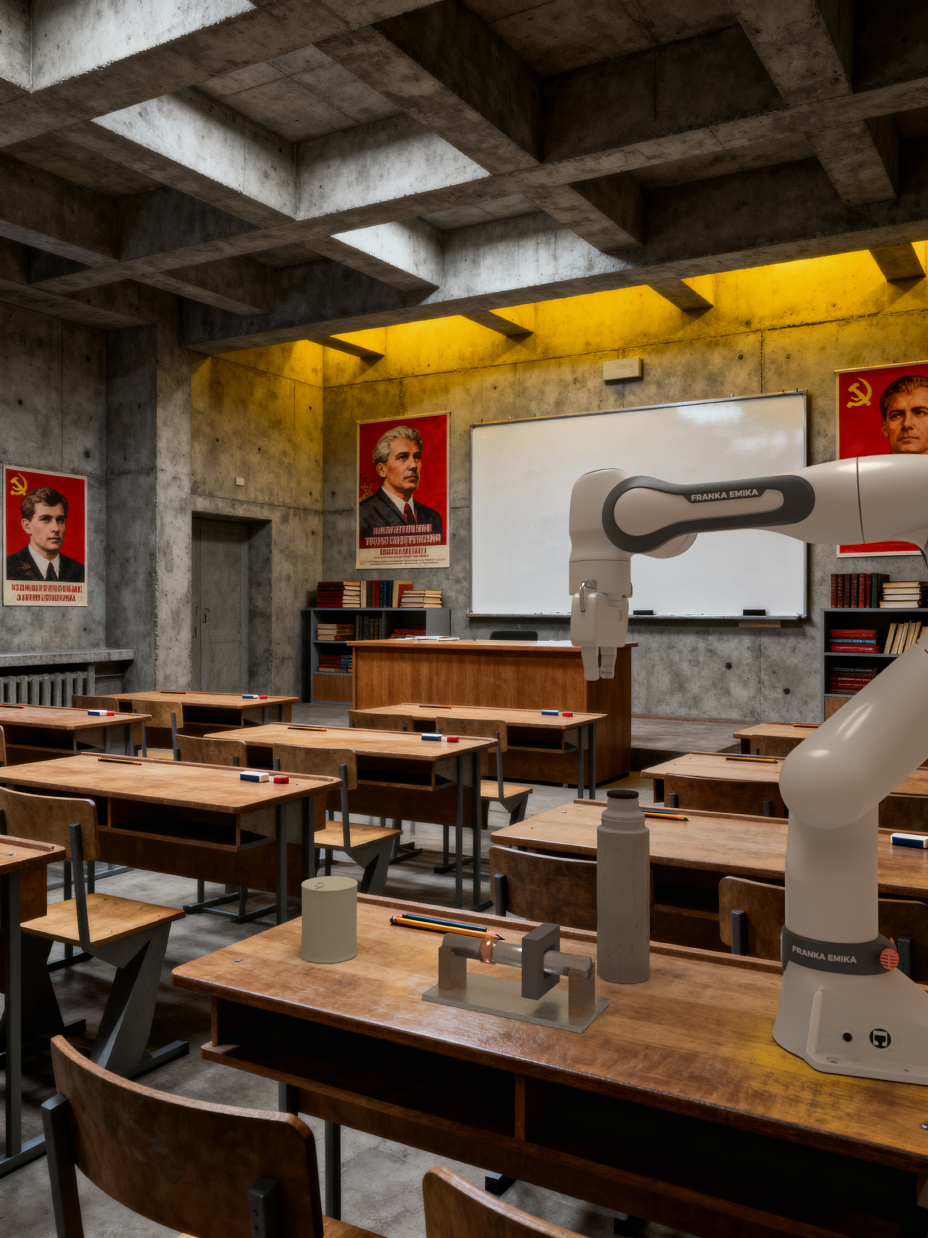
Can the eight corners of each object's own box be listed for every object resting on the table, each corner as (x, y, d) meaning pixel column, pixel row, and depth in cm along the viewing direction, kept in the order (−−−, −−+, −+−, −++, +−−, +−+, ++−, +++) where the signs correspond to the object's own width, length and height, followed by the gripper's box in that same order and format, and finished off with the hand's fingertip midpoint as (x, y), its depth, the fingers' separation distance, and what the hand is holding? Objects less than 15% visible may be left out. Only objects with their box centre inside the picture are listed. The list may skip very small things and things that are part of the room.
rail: (609, 1004, 129) (609, 945, 129) (581, 1033, 119) (581, 969, 120) (458, 975, 140) (458, 920, 141) (421, 999, 131) (422, 941, 131)
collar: (559, 981, 131) (560, 925, 131) (537, 1000, 124) (537, 940, 124) (544, 978, 132) (544, 922, 132) (521, 997, 125) (521, 938, 125)
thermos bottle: (649, 967, 144) (649, 787, 145) (649, 986, 136) (649, 795, 137) (598, 963, 146) (598, 786, 147) (595, 981, 138) (595, 793, 139)
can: (288, 957, 148) (289, 882, 149) (325, 941, 156) (326, 870, 156) (332, 968, 143) (333, 890, 144) (369, 951, 151) (369, 878, 152)
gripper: (605, 577, 122) (605, 682, 121) (635, 587, 141) (635, 677, 140) (558, 578, 124) (558, 681, 124) (594, 587, 143) (594, 677, 143)
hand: (599, 679), depth 132 cm, fingers open, 8 cm apart
